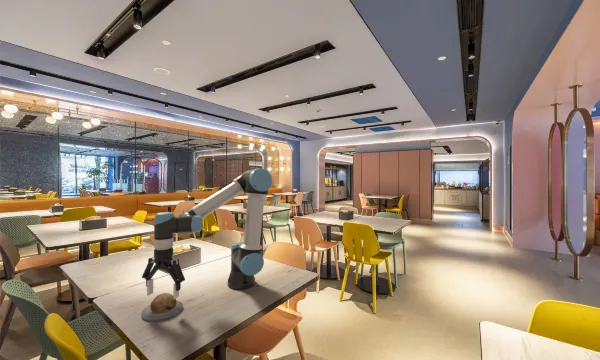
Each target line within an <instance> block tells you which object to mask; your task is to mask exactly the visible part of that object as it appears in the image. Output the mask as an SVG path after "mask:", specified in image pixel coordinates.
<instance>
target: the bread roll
mask: <svg viewBox="0 0 600 360" xmlns="http://www.w3.org/2000/svg"><path fill="white" fill-rule="evenodd" d="M172 294H173V293H169V292H162V293H161V294H158V295H157V296H155V297H154V298H153V300H152V301H151V302H150V304H149V305H150V310H151V311H152V312H155V313H163V312H164V313H165V312H167V311H169V310H171V309H173V308H174V307H175V306H176V303H177V301H178V300H177V298H176V299H173V295H172ZM176 300H177V301H176Z"/></svg>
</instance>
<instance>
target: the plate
mask: <svg viewBox="0 0 600 360" xmlns="http://www.w3.org/2000/svg"><path fill="white" fill-rule="evenodd" d="M176 301H177V303H176V306H175V307H174V308H173V309H171V310H169V311H167V312H165V313H164V312H163V313H155V312H152V311H151V310H150V305H151V304H149V305H147V306H146V307H145V308H143V309H142V311H141V315H140V316H141V319H142V320H144V321H147V322H160V321H164V320H168V319H171V318H174V317H175V316H177V315H178V314H180V313H181V312H183V308H184V305H183V302H182V301H180V300H177V299H176Z"/></svg>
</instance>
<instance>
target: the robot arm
mask: <svg viewBox="0 0 600 360" xmlns="http://www.w3.org/2000/svg"><path fill="white" fill-rule="evenodd" d="M272 185H273V177H272V174H271V173H270V172H269V171H268V170H267V169H264V168H261V167H260V168H259V167H257V168H251V169H248V170H246V171H245V172H243V173H242V174H241V175H239V176H238V177H236V178H233V181H232V183H230V184H228V185H227V186H225V187H223V188H222V189H221V190H219V191H217V192H215V193H214V194H212V195H210V196H209V197H207V198H206V199H204V200H202V201H200V202H199V203H197V204H196V205H194V206H192V207H191V208H190V209H188V210H186V211H183V212H181V213H180V214H179V215H178V216H175V214H174V213H173V212H172V211H171V212H170V211H166V212H163V211H162V212H157V213H156V214H155V215H154V223H153V225H154V226H153V231H154V232H153V233H154V234H153V238H154V239H153V248H154V249H153V256H152V257H149V258H148V259H147V260H148V261H147V264H146V267H145V269H144V272H143V273H142V274H141V278H142V279H144V280H145V286H146V296H148V297H149V296H150V295H153V294H154V278H153V277H154V276H155V274H156V273H157V271H158V270H164V271H166V272H168V275H169V276H170V278H171V279H172V280H173V281H174V283H173V290H172V291H173V293H172V294H173V299H176V300H177V298H179V297H180V291H181V288H182V287H181V286H182V285H181V284H182V282H184V281H185V280H186V278H185V275H184V273H183V270H182V267H181V266H180V260H179V258H176V259H173V256H174V234H186V233H198V232H201V231H202V230H203V219H204V218H206V217H207V216H208V215H210V214H212V213H213V212H215V211H216V210H218V209H220V208H221V207H222V206H224V205H226V204H227V203H229V202H230V201H232V200H233V199H235V198H236V197H238V196H240V195H244V194H246V196H247V200H246V201H247V202H246V211H245V221H244V231H243V240H242V241H241V242H234V243H232V245H231V248H230V252H231V253H230V255H231V256H230V273H229V276H228V278H227V287H228V288H229V289H232V290H246V289H249V288H252V287H253V286H255V284H256V277H255V276H256V275H257V274H259V273H260V272H261V271H262V269H263V268H264V265H265V260H264V257H263V255H262V254H263V246H262V245H261V235H262V226H263V224H262V223H263V215H264V206H265V205H264V204H265V198H266V197H268V196H269V195H268V194H269V189H270V188H271V187H272Z"/></svg>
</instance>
